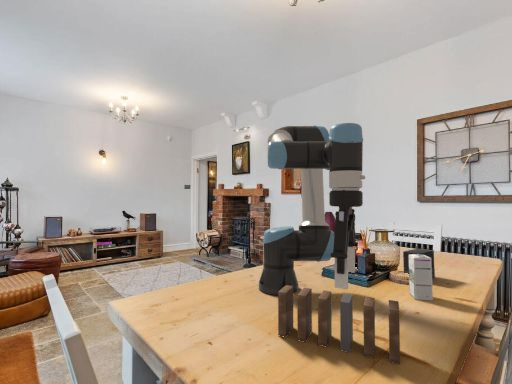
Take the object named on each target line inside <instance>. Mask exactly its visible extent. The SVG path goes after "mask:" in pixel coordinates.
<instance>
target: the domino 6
mask: <svg viewBox="0 0 512 384" xmlns="http://www.w3.org/2000/svg"><path fill="white" fill-rule="evenodd" d="M400 324H401V323H400V304H399V300H398V301H397V300H393V299H388V352H389V353H388V356H389V358H388V359H389V360H388V361H390V362H389V363H391V362H394V363H393V364H396V363H398V364H397V365H401V343H400V342H401V339H400V338H401V336H400V335H401V333H400V329H401V327H400Z"/></svg>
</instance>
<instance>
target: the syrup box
mask: <svg viewBox="0 0 512 384" xmlns="http://www.w3.org/2000/svg"><path fill="white" fill-rule="evenodd" d="M408 282H409V283H408V285H409V286H408V287H409V289H408V290H409V295H410V296H411V298H413V299H414V300H416V301H417V300H418V301H431V302H433V300H434V297H433V295H434V294H433V278H432V262H431V258H430V257H428V256H426V255H421V254H409V280H408Z"/></svg>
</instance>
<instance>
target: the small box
mask: <svg viewBox="0 0 512 384" xmlns="http://www.w3.org/2000/svg"><path fill="white" fill-rule="evenodd" d="M409 254H421V255H426V256H428V257H430V258H431V262H432V279H434V278H435V277H436V274H435V272H436V270H435V250H433V249H427V248H426V249H425V248H424V249H423V248H415V249H408V250H405V251H402V258H403V259H402V260H403V261H402V262H403V274H404V273H408V274H409Z"/></svg>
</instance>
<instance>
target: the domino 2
mask: <svg viewBox="0 0 512 384" xmlns="http://www.w3.org/2000/svg"><path fill="white" fill-rule="evenodd" d="M312 290H313V289H312V288H310V287H303V288H302V289H301V290H300V292H298V293H297V297H296V299H297V301H296V302H297V305H296V306H297V308H296V309H297V319H296V320H297V341H298V340H300V341H299V342H301V341H304V342H303V343H307V341H308V340H309V338H308V337H310V336H311V334H312V332H313V306H312V305H313V300H312V299H313V291H312ZM310 333H311V334H310ZM309 335H310V336H309ZM306 340H307V341H306Z"/></svg>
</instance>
